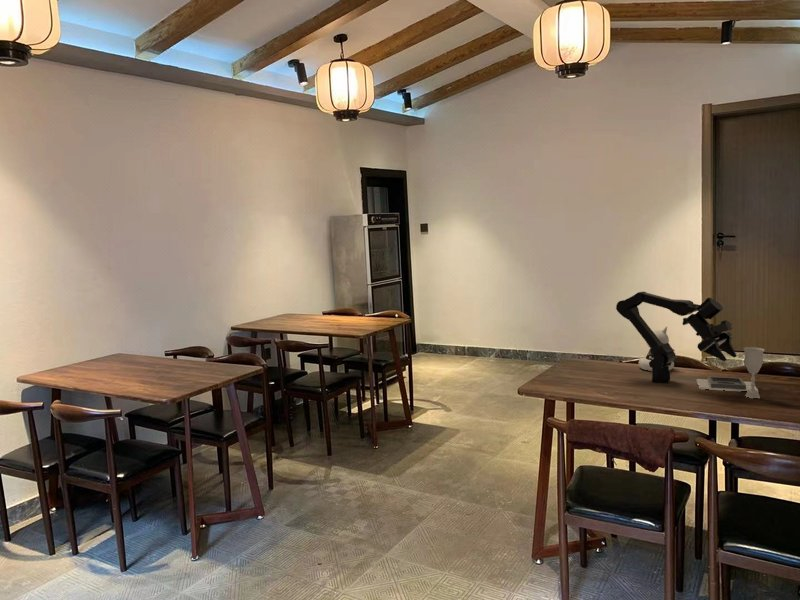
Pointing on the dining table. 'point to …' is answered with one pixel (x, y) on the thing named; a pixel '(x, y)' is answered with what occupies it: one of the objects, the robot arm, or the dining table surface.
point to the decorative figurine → (645, 361)
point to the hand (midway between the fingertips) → (730, 358)
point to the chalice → (753, 367)
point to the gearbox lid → (724, 384)
